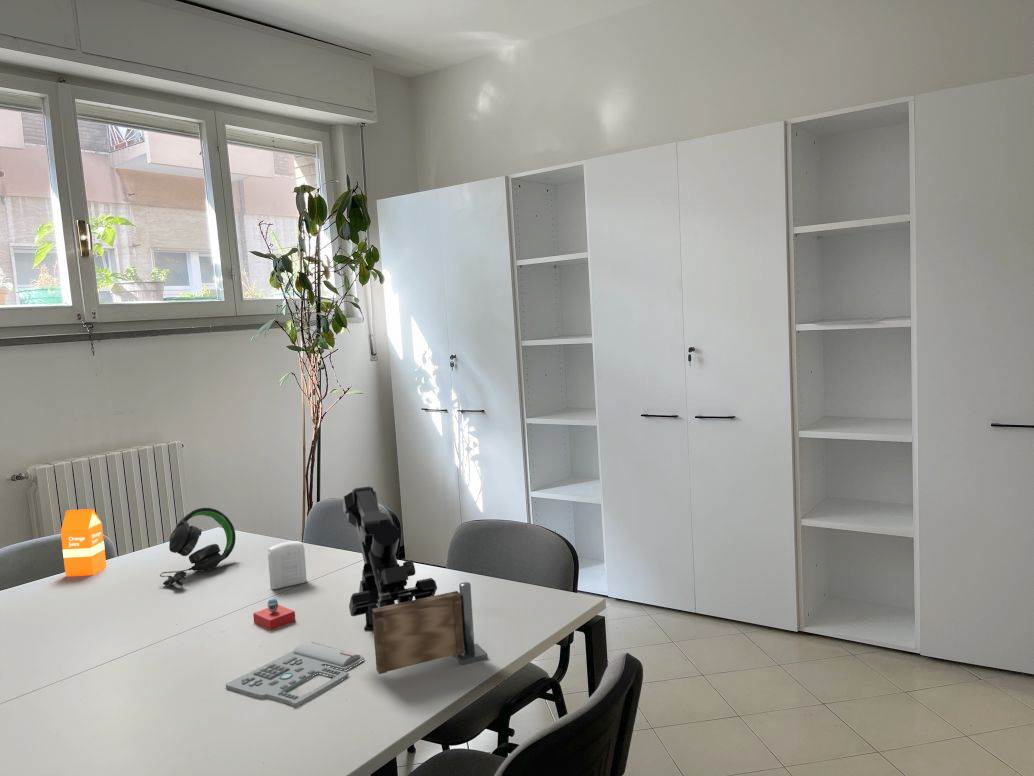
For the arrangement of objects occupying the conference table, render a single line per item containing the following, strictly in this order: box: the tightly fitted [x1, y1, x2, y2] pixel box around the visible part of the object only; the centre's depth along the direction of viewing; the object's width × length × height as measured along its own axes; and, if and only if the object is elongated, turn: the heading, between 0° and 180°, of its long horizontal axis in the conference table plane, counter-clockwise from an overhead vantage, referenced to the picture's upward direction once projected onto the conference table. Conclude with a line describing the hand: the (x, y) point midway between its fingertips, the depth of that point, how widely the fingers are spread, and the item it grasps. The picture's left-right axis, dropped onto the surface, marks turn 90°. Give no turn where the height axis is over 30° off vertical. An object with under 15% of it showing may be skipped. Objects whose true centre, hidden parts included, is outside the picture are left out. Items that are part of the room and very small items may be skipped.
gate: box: [372, 590, 464, 675], centre depth 160 cm, size 18×2×13 cm, turn 115°
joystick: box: [252, 597, 297, 631], centre depth 191 cm, size 8×7×6 cm
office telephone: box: [225, 641, 365, 708], centre depth 161 cm, size 23×3×20 cm
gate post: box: [452, 581, 489, 666], centre depth 164 cm, size 6×6×16 cm
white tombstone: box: [267, 540, 308, 590], centre depth 218 cm, size 10×4×12 cm, turn 123°
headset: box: [159, 507, 237, 587], centre depth 233 cm, size 18×14×29 cm
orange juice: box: [60, 508, 107, 577], centre depth 241 cm, size 8×9×20 cm
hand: (403, 632), depth 163 cm, fingers closed
